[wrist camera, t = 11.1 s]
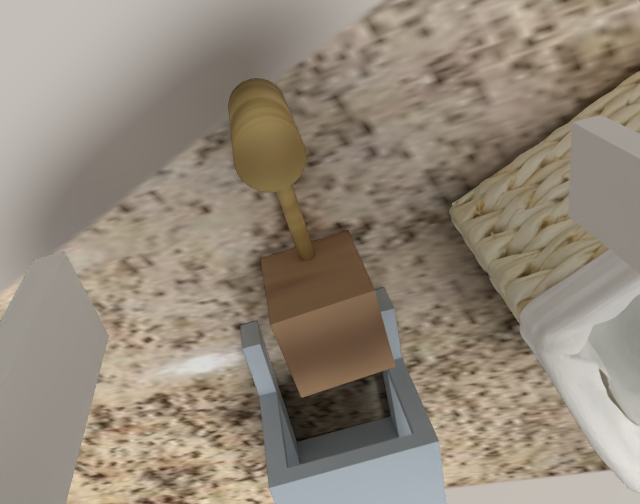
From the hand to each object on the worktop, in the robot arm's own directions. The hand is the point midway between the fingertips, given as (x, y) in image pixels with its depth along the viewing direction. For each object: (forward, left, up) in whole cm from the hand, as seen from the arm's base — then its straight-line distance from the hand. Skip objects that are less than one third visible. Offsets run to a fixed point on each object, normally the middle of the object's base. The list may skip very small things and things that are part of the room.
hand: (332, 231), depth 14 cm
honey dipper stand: (-9, +1, -19) cm, 21 cm away
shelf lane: (-23, +1, -19) cm, 30 cm away
